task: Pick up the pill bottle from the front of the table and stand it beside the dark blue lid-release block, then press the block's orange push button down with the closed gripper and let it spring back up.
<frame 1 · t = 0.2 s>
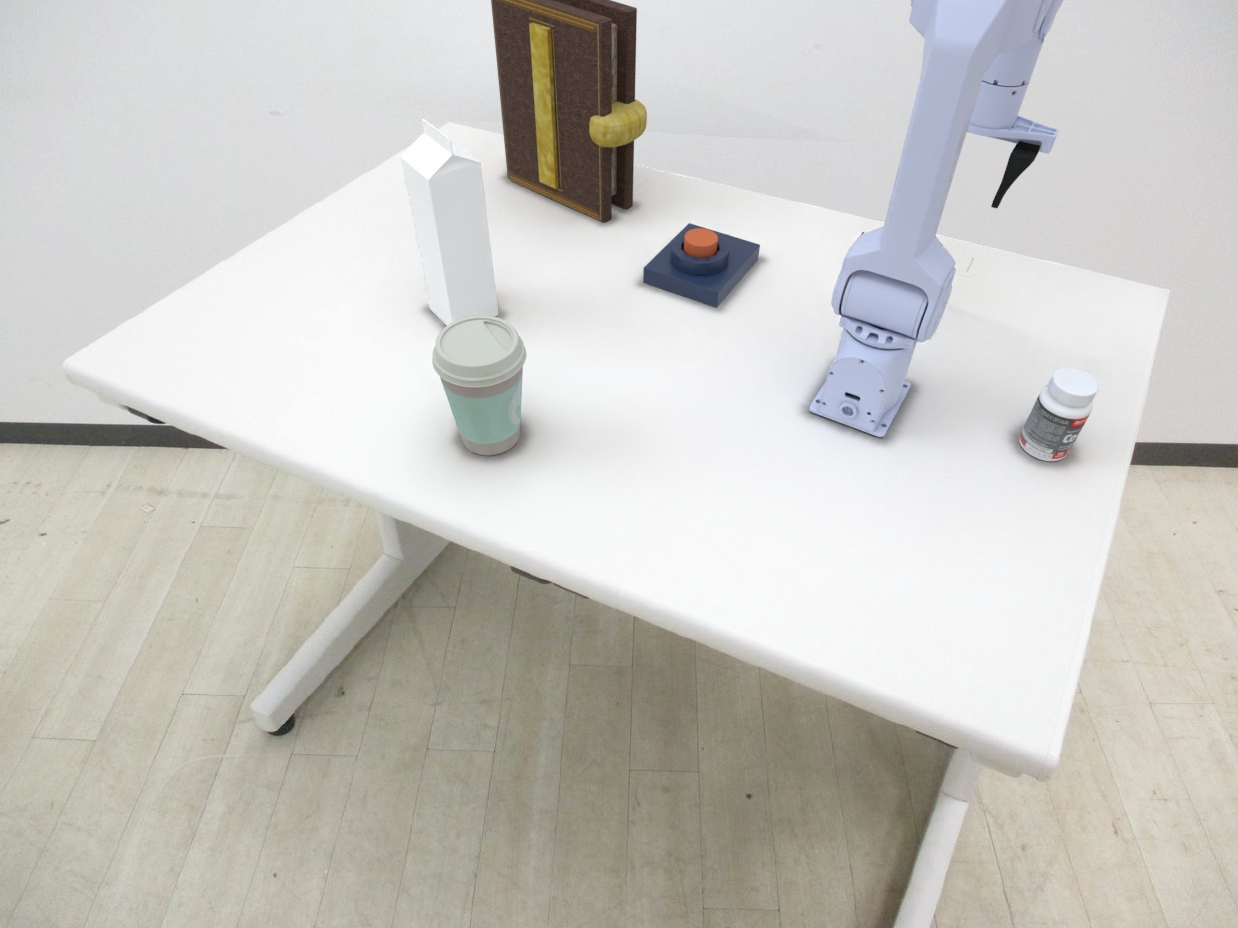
hand: (962, 195, 98), 10 cm above the table, tool pointing down, fingers open, 7 cm apart
pill bottle: (1042, 446, 84), on the table
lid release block: (701, 271, 105), on the table
milk: (464, 313, 99), on the table
coffee cup: (491, 436, 85), on the table
orange push button: (700, 243, 101), point 4 cm above the table, slide at 0.1 cm
book: (574, 195, 118), on the table
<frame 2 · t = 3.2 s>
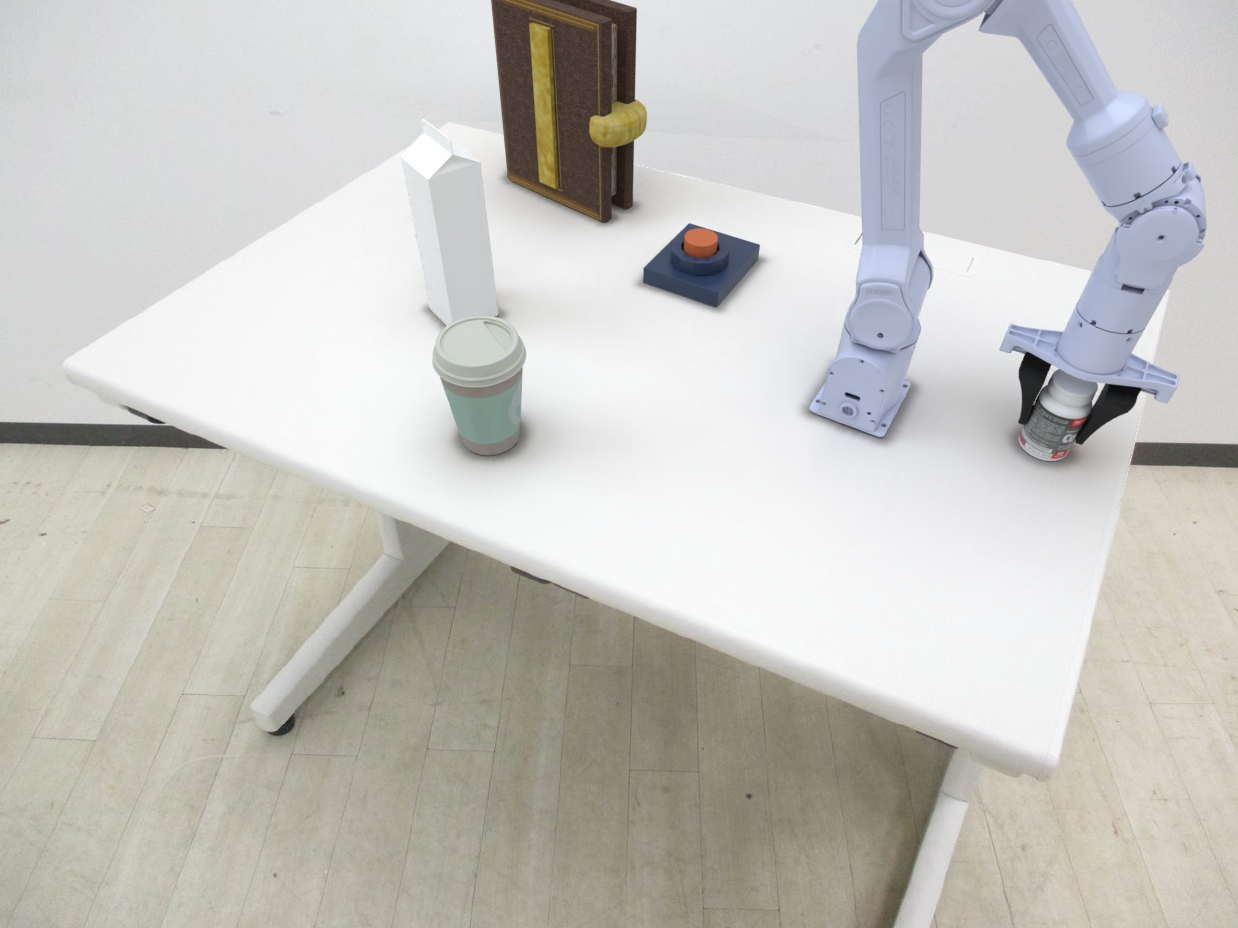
hand: (1051, 428, 82), 2 cm above the table, tool pointing down, fingers closed on pill bottle, 5 cm apart
pill bottle: (1041, 446, 84), on the table, touching gripper
everything else where it was.
when the fingers open (2 cm above the table, at t = 9.9 s): pill bottle stays where it is, on the table.
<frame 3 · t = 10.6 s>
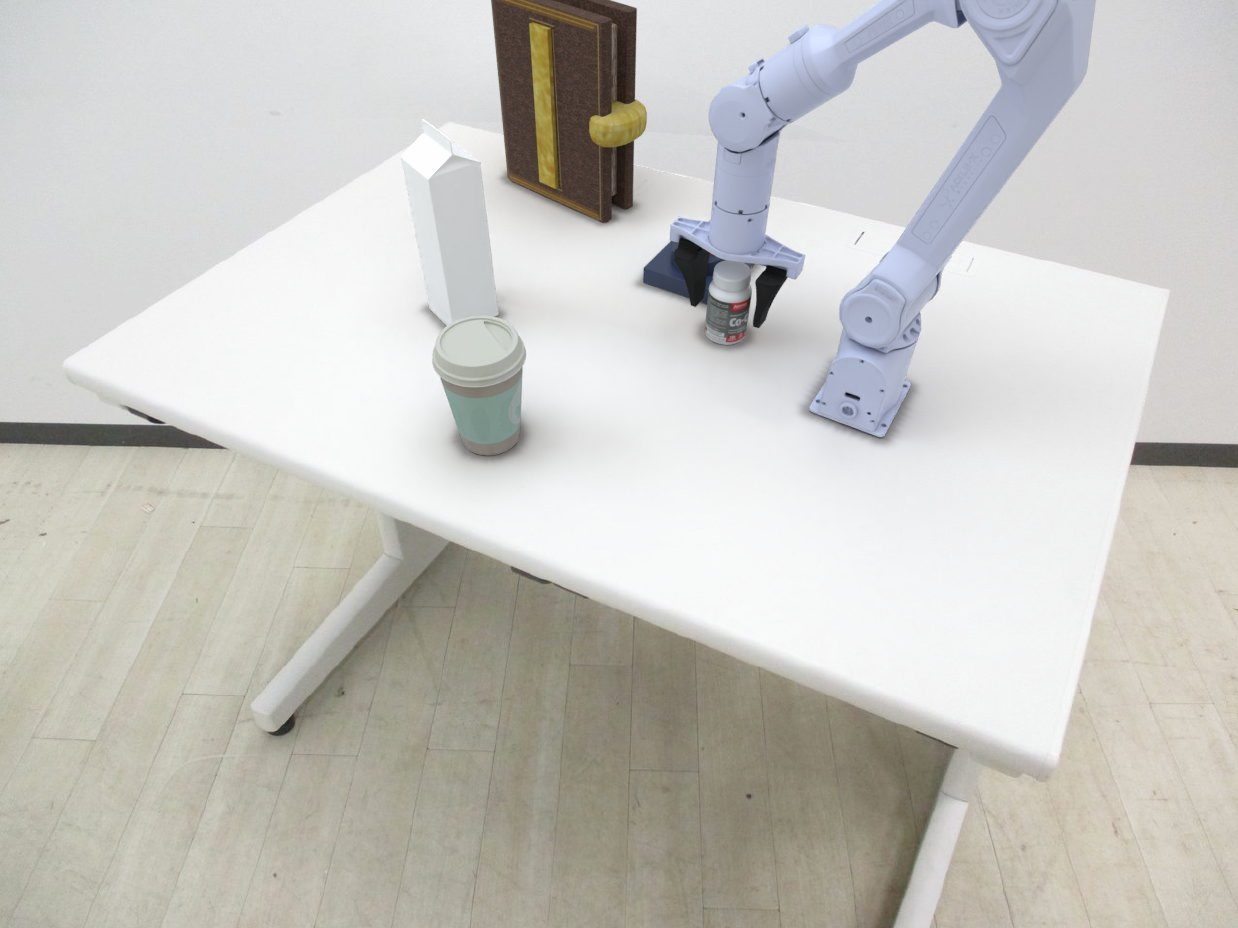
hand: (727, 312, 94), 3 cm above the table, tool pointing down, fingers open, 7 cm apart
pill bottle: (725, 334, 97), on the table
everything else where it was.
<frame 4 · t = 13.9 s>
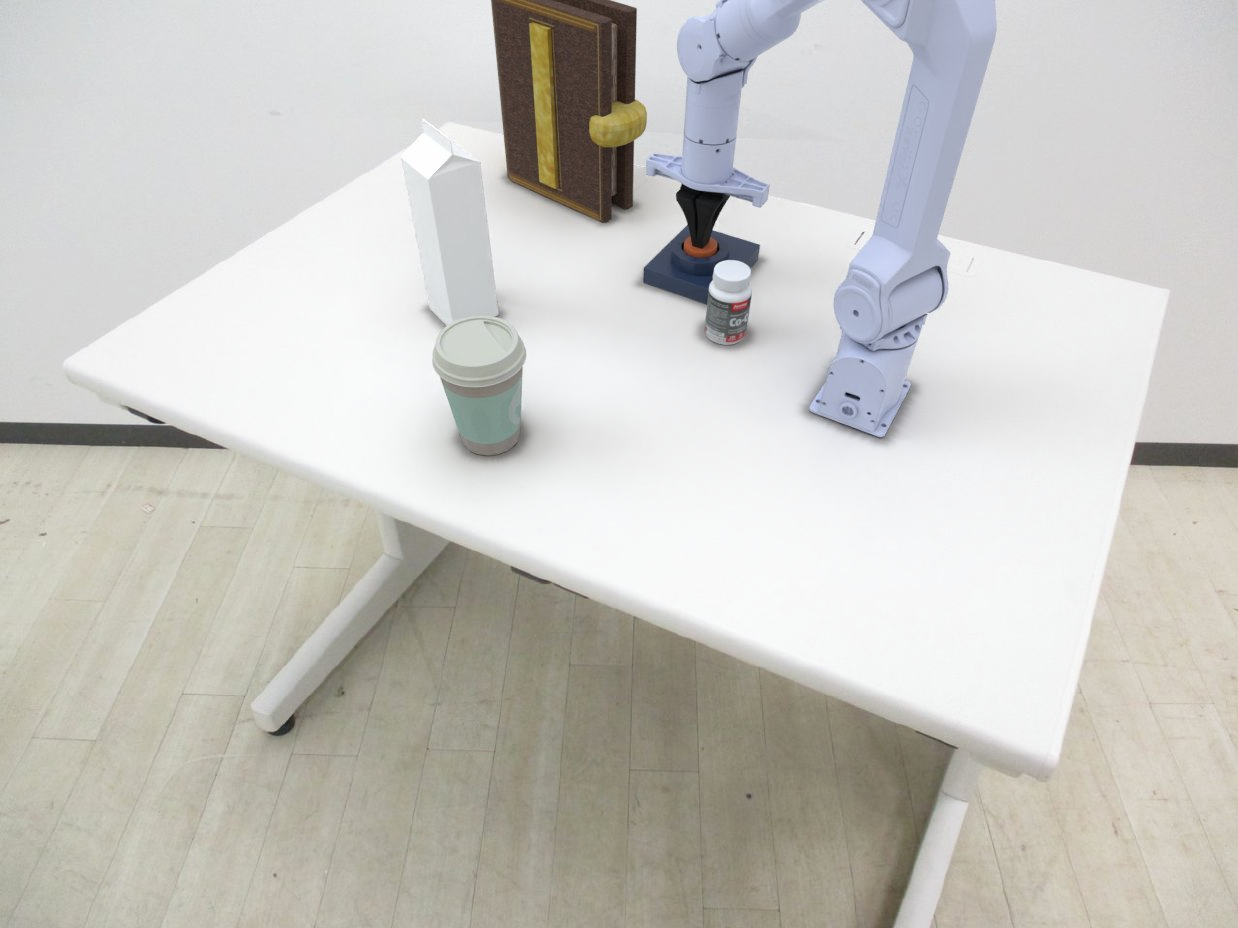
hand: (700, 243, 101), 4 cm above the table, tool pointing down, fingers closed, pressing on orange push button
orange push button: (700, 250, 102), point 4 cm above the table, slide at -0.8 cm, touching gripper
everything else where it was.
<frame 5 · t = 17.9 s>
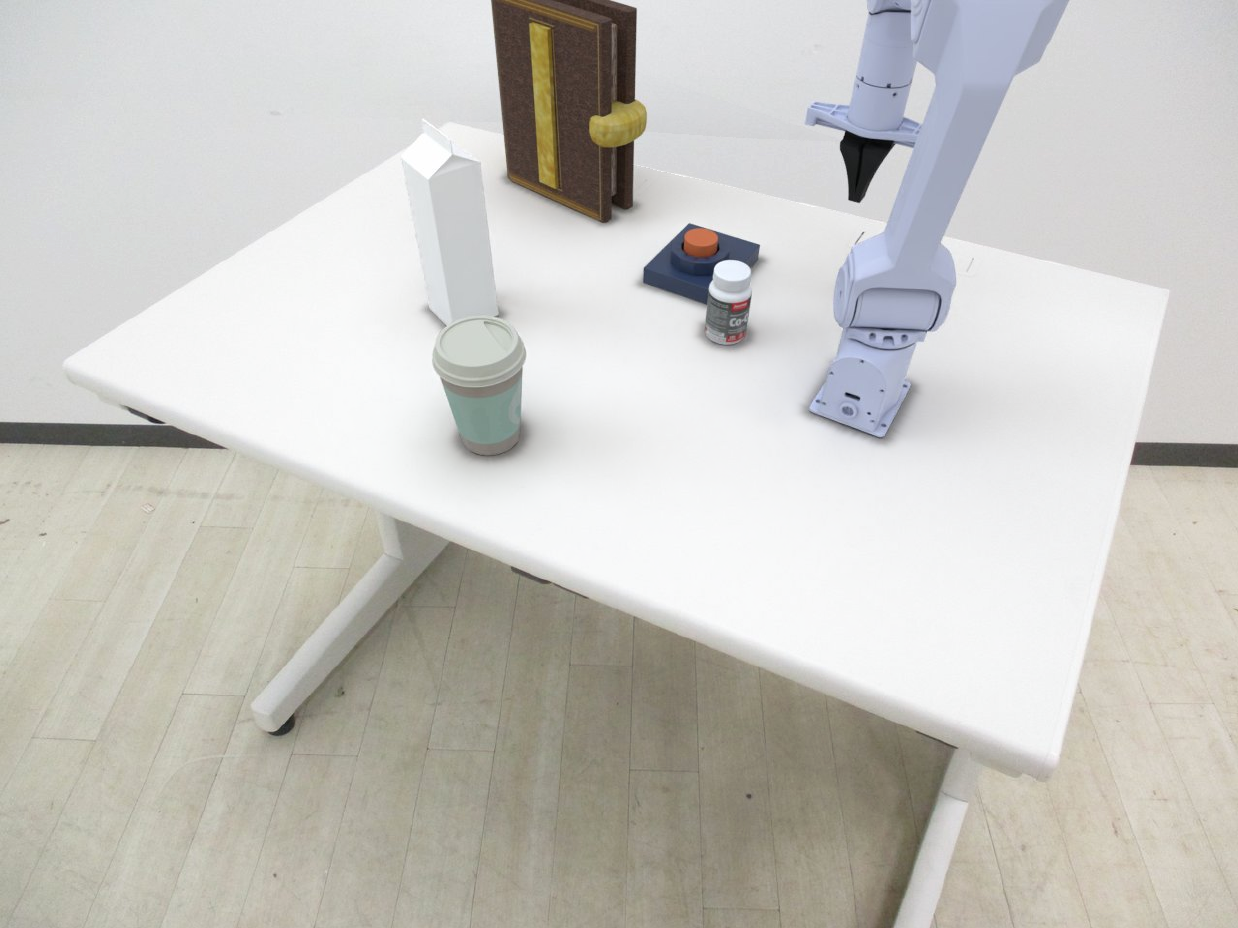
hand: (856, 198, 97), 10 cm above the table, tool pointing down, fingers closed
orange push button: (700, 243, 101), point 4 cm above the table, slide at 0.1 cm
everything else where it was.
at the end: pill bottle 0.2 cm from the target spot, on the table; orange push button pushed in 1.2 cm at the most during the clip, back to where it started at the end; orange push button slide at 0.1 cm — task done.
